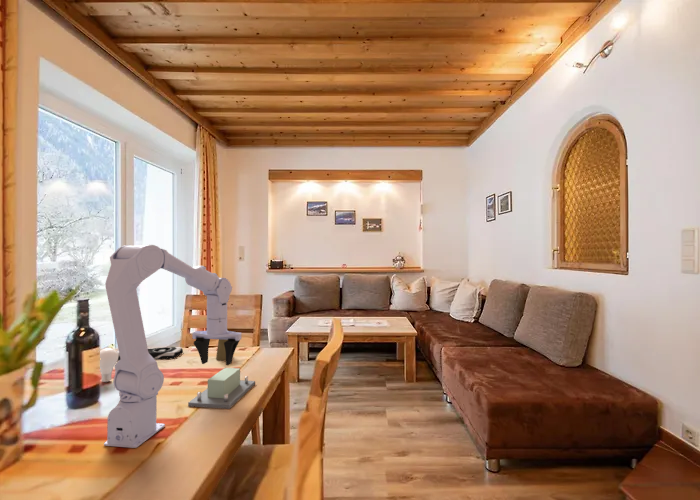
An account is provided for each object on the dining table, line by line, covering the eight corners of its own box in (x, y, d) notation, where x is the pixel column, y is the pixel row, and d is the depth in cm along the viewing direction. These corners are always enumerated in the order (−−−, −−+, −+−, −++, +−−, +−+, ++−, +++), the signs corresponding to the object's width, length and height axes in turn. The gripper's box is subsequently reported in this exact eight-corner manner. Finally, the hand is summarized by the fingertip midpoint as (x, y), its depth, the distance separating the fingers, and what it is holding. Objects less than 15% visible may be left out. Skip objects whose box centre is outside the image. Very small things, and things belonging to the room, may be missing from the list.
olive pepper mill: (215, 357, 134) (215, 329, 134) (231, 355, 137) (231, 328, 137) (216, 361, 129) (216, 333, 129) (232, 359, 131) (232, 331, 132)
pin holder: (229, 408, 90) (229, 397, 90) (188, 406, 91) (188, 395, 91) (255, 384, 107) (255, 374, 107) (219, 382, 108) (219, 373, 108)
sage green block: (224, 398, 94) (224, 380, 94) (207, 397, 95) (207, 379, 95) (240, 384, 104) (240, 368, 104) (225, 383, 105) (225, 367, 105)
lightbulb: (103, 387, 104) (103, 351, 104) (89, 384, 106) (89, 350, 106) (122, 379, 110) (123, 346, 110) (109, 377, 112) (109, 344, 112)
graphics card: (121, 347, 139) (183, 345, 141) (121, 355, 139) (183, 353, 141) (106, 354, 129) (173, 352, 131) (106, 363, 129) (173, 360, 131)
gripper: (246, 315, 102) (245, 360, 102) (202, 314, 104) (201, 358, 104) (235, 320, 95) (234, 368, 95) (188, 319, 97) (187, 365, 97)
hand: (216, 363), depth 99 cm, fingers open, 7 cm apart
